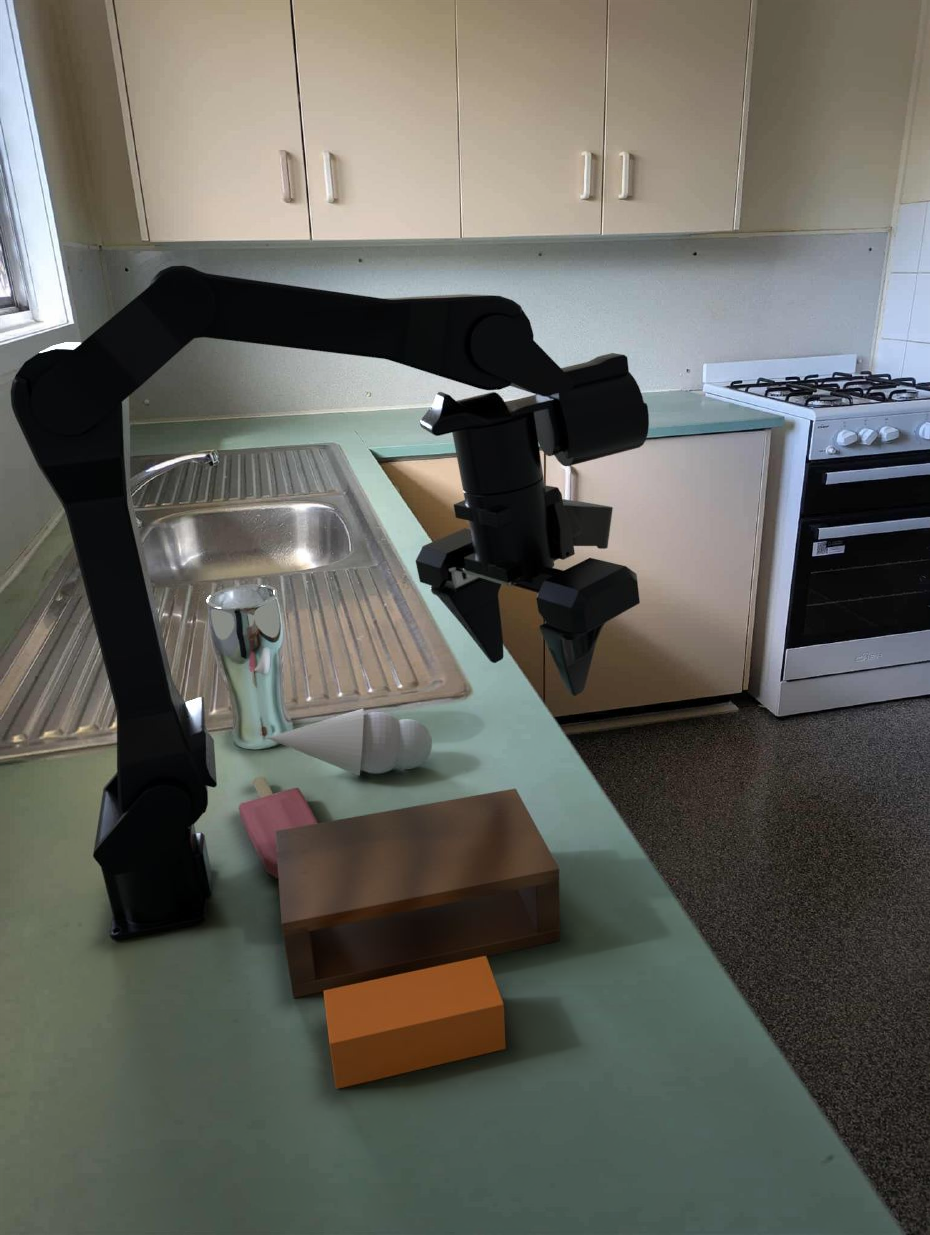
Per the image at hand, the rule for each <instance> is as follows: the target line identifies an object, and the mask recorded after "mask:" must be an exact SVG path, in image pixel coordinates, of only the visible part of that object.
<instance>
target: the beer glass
mask: <svg viewBox="0 0 930 1235" xmlns="http://www.w3.org/2000/svg"><path fill="white" fill-rule="evenodd" d="M206 604H207V612H208V613H207V615H208V616H207V617H208V626H209V628H208V629H209V635H210V643H211V647H212V648H211V649H212V652H213V657H214V660H215V663H216V666H217V669H218V671H219V674H220V677H221V680H222V682H223V686H224V688H225V690H226V693H227V697H228V699H229V703H230V707H231V714H232V723H231V724H232V726H231V739H232V742H233V743H234V744H235V745H236V746H237V747H239V748H241V749H245V750H264V749H270V748H273V747H276V746H278V745H281V744H280V743H278V742H276V741H273V740H271V739H268V738H267V737H270V736H274V735H277V734H280V733H284V732H287V731H290V730H294V729H295V728H294V724H293V720H292V718H291V715H290V712H289V709H288V706H287V700H286V670H287V639H286V638H287V637H286V628H285V624H284V618H283V614H282V613H283V612H282V609H281V605H280V600H279V595H278V590H277V589H276V588H275V587H274V586H270V585H266V584H259V583H257V584H256V583H255V584H253V583H251V584H240V585H234V586H230V587H226V588H222V589H220V590H217V591H215V592H213V593H212V594H210V595H209V596H208V597H207V599H206Z"/></svg>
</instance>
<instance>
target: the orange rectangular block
mask: <svg viewBox="0 0 930 1235" xmlns="http://www.w3.org/2000/svg"><path fill="white" fill-rule="evenodd" d="M497 984H498V983H497V981H496V979H495V976H494V973H493V970H492V968H491V965H490V963H489V960H488V956H487V957H486V956H482V957H478V958H473V959H468V960H464V961H459V962H454V963H450V964H445V965H440V966H436V967H431V968H426V969H422V970H417V971H412V972H408V973H403V974H398V975H394V976H389V977H385V978H380V979H375V980H371V981H366V982H361V983H357V984H352V985H347V986H343V987H338V988H333V989H329V990H324V992H323V1000H324V1008H325V1015H326V1017H325V1018H326V1024H327V1025H326V1026H327V1032H328V1035H327V1036H328V1042H329V1049H330V1057H331V1063H332V1070H333V1071H332V1072H333V1079H334V1084H335V1085H334V1086H335V1089H336V1090H339V1089H343V1088H348V1087H351V1086H354V1085H360V1084H363V1083H369V1082H372V1081H373V1082H374V1081H376V1080H381V1079H385V1078H389V1077H393V1076H398V1075H403V1074H406V1073H410V1072H415V1071H418V1070H422V1069H426V1068H430V1067H435V1066H436V1067H437V1066H439V1065H444V1064H448V1063H452V1062H457V1061H461V1060H465V1059H469V1058H472V1057H477V1056H482V1055H486V1054H490V1053H494V1052H498V1051H503V1050H505V1049H506V1048H507V1047H506V1025H505V1003H504V1001H503V998H502V995H501V993H500V989H499V987H498V985H497Z"/></svg>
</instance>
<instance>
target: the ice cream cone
mask: <svg viewBox="0 0 930 1235" xmlns="http://www.w3.org/2000/svg"><path fill="white" fill-rule="evenodd" d="M267 738H268V739H271V740H273V741H276V742H278V743H280V744H279V745H283V746H286V747H288V748H290V749H292V750H295V751H298V752H299V753H303V754H305V755H306V756H307V755H308V756H309V757H311V758H313V759H314V758H315V759H317V760H319V761H322V762H324V763H327V764H329V765H331V766H334V767H337V768H339V769H341V770H344V771H346V772H349V773H351V774H354V775H356V776H360V774H361V771H363V772H366V773H369V774H373V775H374V774H375V775H377V774H383V773H388V772H389V771H391V770H393V769H395V768H398V769H401V770H411V769H415V768H418V767H420V766H421V765H422V764H424V763H425V762H426V761H427V760H428V758H429V756H430V754H431V752H432V748H433V741H432V736H431V733H430V731H429V730H428V728H427V727H426V726H425V725H424V724H423V723H422V722H420V721H418V720H415V719H411V718H402V719H397V717H395V716H394V715H392V714H390V713H386V712H382V711H372V712H368V713H365V712H364V708H360V709H357V710H353V711H349V712H346V713H344V714H340V715H337V716H334V717H329V718H327V719H324V720H320V721H317V722H313V723H311V724H307V725H304V726H303V725H302V726H300V727H297V728H294V730H290V731H287V732H284V733H280V734H277V735H274V736H270V737H267Z"/></svg>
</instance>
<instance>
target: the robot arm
mask: <svg viewBox="0 0 930 1235" xmlns="http://www.w3.org/2000/svg"><path fill="white" fill-rule="evenodd" d="M201 338H207V339H215V340H223V341H230V342H231V341H232V342H241V343H246V344H247V343H248V344H249V343H250V344H256V345H265V346H273V347H281V348H290V349H299V350H306V351H315V352H324V353H332V354H341V355H349V356H355V357H365V358H372V359H373V358H374V359H380V360H381V359H382V360H387V361H390V362H393V363H397V364H400V365H403V366H407V367H409V368H413V369H416V370H419V371H421V372H425V373H429V374H431V375H435V376H437V377H441V378H444V379H448V380H451V381H453V382H457V383H460V384H462V385H463V384H464V385H467V386H469V387H473V388H476V389H480V390H484V391H492V392H487V393H483V394H478V395H475V396H470V397H466V398H463V399H457V400H456V399H454V398H453V397H452V395H450V394H448V393H445V392H443V391H437V393H436V394H435V399H434V401H433V403H432V404H431V406H430V407H429V409H428V410H427V411H426V412H425V414H424V416H423V417H422V418H421V419H420V420H419V425H420V427H421V428H422V429H423V430H425V431H426V432H429V433H430V434H432V435H433V436H435V437H439V436H443V435H447V434H451V433H452V438H453V443H454V449H455V454H456V459H457V465H458V470H459V476H460V482H461V487H462V492H463V498H464V499H463V500H461V501H459V502H456V503H453V510H454V516H455V518H456V519H458V520H459V519H460V520H464V521H468V525H469V528H467V527H466V528H465V527H464V528H462V529H460V530H457V531H455V532H452V533H450V534H448V535H445V536H443V537H441V538H438V539H436V540H434V541H431V542H429V543H427V544H424V545H422V546H421V548H420V550H419V552H418V554H417V556H416V558H415V565H416V566H415V567H416V570H417V575H418V580H419V583H422V584H424V585H428V586H430V591H431V593H432V595H434V596H436V597H437V598H438V599H439V600H440V601H441V602H442V603H443V605H444V606H445V607H446V609H448V610H449V611H450V612H451V615H453V616H454V618H455V619H456V620H457V621H458V622H459V624H461V626H462V627H463V628H464V630H465V631H466V632H467V633H468V635H469V636H470V638H472V640H473V641H474V642H475V644H476V645H477V646H478V647H479V649H480V650H481V651H482V653H483V654H484V655H485V656H486V658H487V659H488V660H489V662H490V663H493V664H497V663H498V662H500V661H502V660H503V659H504V636H503V627H502V618H501V608H500V600H499V592H500V589H501V587H502V585H503V586H506V587H511V586H513V587H515V588H521V589H523V590H527V591H531V592H533V593H537V595H536V597H535V598H536V605H537V611H538V614H540V616H541V617H542V618H543V621H544V622H543V623H542V624H540V625H538V627H539V630H540V632H541V635H542V637H543V639H544V641H545V644H546V646H547V649H548V651H549V652H550V655H551V657H552V659H553V662H554V664H555V666H556V669H557V671H558V673H559V676H560V678H561V680H562V682H563V684H564V686H565V688H566V689H567V692H568V693H569V694H570V696H573V697H576V696H578V695H580V694H581V693H583V692H584V690H585V689H586V683H587V679H588V677H589V673H590V672H589V671H590V668H591V664H592V660H593V656H594V652H595V649H596V645H597V642H598V639H599V637H600V634H601V631H602V629H603V627H604V626H605V624H606V623H607V622H609V621H611V620H612V619H614V618H616V617H618V616H621V615H622V614H623V613H625V612H627V611H628V610H630V609H632V608H633V607H636V606H638V605H639V604H640V602H641V601H640V592H639V583H638V576H637V573H636V572H635V571H633V570H632V569H630V568H629V567H628V566H626V565H623V564H619V563H614V562H610V561H606V560H602V559H598V558H593V557H588V558H586V559H584V560H582V561H580V562H578V563H576V564H574V565H572V566H570V567H568V568H566V569H560V568H557V567H556V568H555V561H558V560H563V561H564V560H566V559H569V558H570V557H572V556H574V555H575V554H576V553H575V547H597V549H600V550H603V549H604V550H605V549H608V547H609V541H610V540H609V539H610V532H611V525H612V518H613V511H614V510H613V509H614V508H613V507H612V506H609V505H603V504H599V503H598V504H597V503H591V502H585V501H579V500H571V499H565V498H563V493H562V492H561V491H560V489H559V487H558V486H552V485H545V478H544V471H543V466H542V458H541V452H540V451H542V452H543V454H544V455H546V456H547V457H552V456H554V457H555V459H556V460H557V462H558V463H560V464H561V466H563V467H571V466H574V465H578V464H583V463H586V462H591V461H593V460H599V459H601V458H605V457H609V456H612V455H616V454H620V453H624V452H629V451H631V450H635V449H639V448H641V447H643V446H644V444H645V442H646V441H647V438H648V434H649V428H650V414H649V407H648V404H647V403H646V402H645V401H644V398H643V393H642V391H641V389H640V386H639V384H638V382H637V380H636V378H635V377H634V375H633V374H632V373H631V372H630V370H629V360H628V359H629V358H628V356H627V355H625V354H620V353H615V352H611V353H607V354H603V355H599V356H596V357H595V358H593V359H591V360H589V361H584V362H581V363H576V364H572V365H567V366H565V367H561V366H559V365H558V363H556V361H554V360H553V358H551V357H550V355H549V354H548V353H547V352H546V351H544V350H543V348H542V347H541V346H540V345H539V344H538V343H537V342H536V341H535V340H534V331H533V327H532V323H531V321H530V319H529V316H527V314H526V313H525V311H524V310H523V308H522V306H521V305H520V304H519V303H517V302H516V301H514V300H513V299H510V298H507V297H504V296H502V295H493V294H492V295H489V294H470V293H467V294H466V293H463V294H442V295H441V294H440V295H421V296H407V297H387V298H386V297H385V298H382V297H375V296H370V295H369V296H368V295H360V294H355V293H354V294H353V293H349V292H339V291H333V290H327V289H320V288H319V289H318V288H311V287H305V286H297V285H292V284H291V285H290V284H284V283H277V282H270V281H264V280H256V279H250V278H249V279H248V278H241V277H234V276H229V275H228V276H227V275H221V274H220V275H219V274H213V273H207V272H203V271H201V270H199V269H196V268H194V267H192V266H189V265H170V266H168V267H166V268H163V269H162V270H160V271H158V273H156V274H155V275H154V276H153V278H152V279H151V280H150V283H149V285H148V287H147V288H145V289H144V290H143V291H142V292H141V293H139V294H138V295H137V296H136V297H135V298H134V299H132V300H130V302H129V303H128V304H126V305H125V306H124V307H123V308H122V309H121V310H119V311H118V312H117V313H116V314H114V315H113V316H112V317H110V318H109V319H108V320H107V321H105V323H103V324H102V325H101V326H99V328H97V330H95V331H94V332H93V333H91V335H89V336H88V337H86V339H84V340H83V341H82V342H75V341H65V342H63V343H59V344H55V345H52V346H50V347H47V348H46V349H44V350H42V351H39V352H37V353H36V354H35V355H33V356H31V357H30V358H29V359H27V360H26V361H24V363H23V365H21V367H20V368H19V370H18V371H17V372H16V374H15V376H14V377H13V379H12V383H11V388H10V402H11V403H10V404H11V409H12V412H13V414H14V417H15V419H16V421H17V424H18V425H19V428H20V430H21V433H22V435H23V436H24V439H25V441H26V443H27V445H28V447H29V450H30V451H31V454H32V456H33V458H34V460H35V462H36V465H37V467H38V468H39V470H40V472H41V473H42V475H43V476H44V478H45V479H46V481H47V483H48V484H49V486H50V488H51V489H52V491H53V492H54V494H55V496H56V497H57V498H58V500H59V502H60V504H61V506H62V508H63V510H64V512H65V515H66V519H67V522H68V526H69V531H70V535H71V538H72V544H73V546H74V549H75V551H74V552H75V555H76V558H77V562H78V566H79V571H80V574H81V578H82V581H83V585H84V589H85V594H86V598H87V601H88V605H89V609H90V613H91V617H92V620H93V625H94V629H95V632H96V636H97V640H98V645H99V648H100V652H101V657H102V660H103V664H104V668H105V673H106V676H107V679H108V684H109V688H110V691H111V695H112V700H113V703H114V707H115V712H116V772H115V773H114V774H113V776H112V777H111V778H110V780H109V781H108V782H107V783H106V785H105V786H104V787H103V789H102V796H101V803H100V808H99V815H98V821H97V822H98V823H97V827H96V835H95V840H94V846H93V853H92V857H93V859H94V860H95V861H96V862H97V864H98V865H99V866H100V869H101V873H102V877H103V880H104V885H105V890H106V893H107V897H108V901H109V905H110V910H111V914H112V916H111V920H110V921H111V922H110V927H109V931H108V932H109V937H110V939H111V940H112V941H117V940H123V939H128V938H133V937H138V936H145V935H149V934H153V933H159V932H165V931H169V930H175V929H179V928H184V927H189V926H195V925H199V924H202V923H203V922H204V921H205V920H206V913H207V911H206V910H207V900H209V899H210V898H211V897H212V893H213V892H212V889H213V873H212V869H211V868H212V867H211V862H210V858H209V857H210V856H209V852H208V847H207V842H206V836H205V834H204V833H203V832H196V827H195V824H196V823H197V822H198V821H199V819H200V818H201V817H202V816H203V814H205V813H206V812H207V808H208V806H209V790H208V789H209V788H208V787H210V788H216V787H217V786H218V783H217V781H218V780H217V767H216V752H215V740H214V738H213V736H212V735H211V734H210V733H209V731H208V729H207V726H206V711H205V709H206V708H205V697H203V696H200V697H197V698H194V699H192V700H188V701H185V699H184V698H183V696H182V695H181V693H180V692H179V690H178V689H177V688H178V687H177V686H176V684H175V682H174V679H173V676H172V672H171V667H170V661H169V658H168V654H167V649H166V645H165V640H164V636H163V630H162V626H161V621H160V617H159V613H158V609H157V605H156V599H155V596H154V591H153V586H152V582H151V578H150V573H149V572H150V571H149V569H148V565H147V560H146V555H145V551H144V547H143V546H144V545H143V541H142V538H141V534H140V528H139V523H138V519H137V515H136V511H135V510H136V509H135V506H134V505H135V504H134V500H133V496H132V493H131V490H132V489H131V425H130V424H131V422H130V421H131V420H130V396H131V395H132V394H133V393H134V392H136V391H137V390H138V389H139V388H140V387H141V386H142V385H144V384H145V383H146V382H147V381H149V379H150V378H152V377H153V375H155V374H156V373H157V372H158V371H159V370H160V369H161V368H162V367H164V366H165V365H166V364H167V363H169V361H170V360H171V359H172V358H174V357H175V356H176V355H177V354H178V353H179V352H180V351H182V349H184V348H185V347H187V345H188V344H190V343H191V342H192V341H193V340H194V339H201ZM509 387H513V388H516V389H519V390H520V391H521V390H522V391H525V392H528V393H531V394H533V395H529V396H524V397H521V398H516V399H512V400H506V401H505V400H504V399H503V397H502V396H501V395H500V394H499V393H497V392H496V391H498V390H499V391H500V390H503V389H505V388H509ZM540 449H541V450H540Z"/></svg>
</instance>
